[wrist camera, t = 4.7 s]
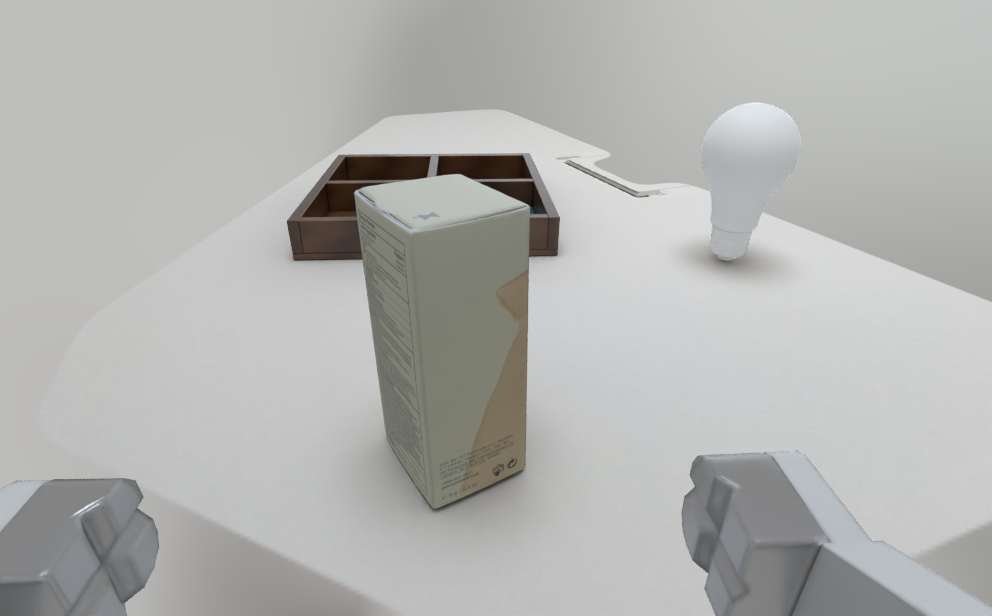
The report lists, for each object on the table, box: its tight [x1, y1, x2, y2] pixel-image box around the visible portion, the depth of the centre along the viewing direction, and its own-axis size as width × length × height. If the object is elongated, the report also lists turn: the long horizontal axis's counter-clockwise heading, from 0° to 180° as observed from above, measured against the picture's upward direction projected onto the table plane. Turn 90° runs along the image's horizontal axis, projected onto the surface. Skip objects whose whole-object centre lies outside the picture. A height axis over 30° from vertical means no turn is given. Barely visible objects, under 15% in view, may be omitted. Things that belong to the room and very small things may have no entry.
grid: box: [287, 153, 560, 260], centre depth 49 cm, size 19×19×3 cm
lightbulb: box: [701, 102, 801, 261], centre depth 38 cm, size 6×6×11 cm
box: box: [354, 174, 530, 509], centre depth 21 cm, size 5×4×11 cm
